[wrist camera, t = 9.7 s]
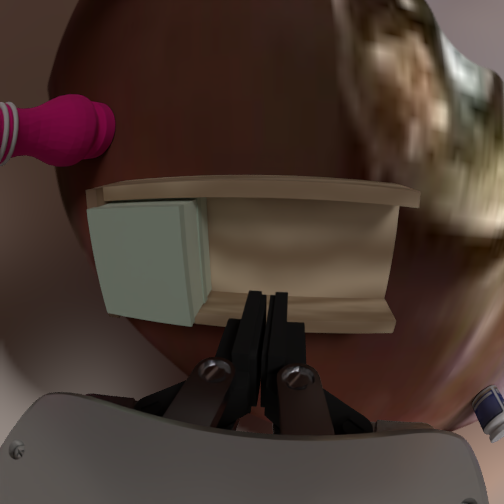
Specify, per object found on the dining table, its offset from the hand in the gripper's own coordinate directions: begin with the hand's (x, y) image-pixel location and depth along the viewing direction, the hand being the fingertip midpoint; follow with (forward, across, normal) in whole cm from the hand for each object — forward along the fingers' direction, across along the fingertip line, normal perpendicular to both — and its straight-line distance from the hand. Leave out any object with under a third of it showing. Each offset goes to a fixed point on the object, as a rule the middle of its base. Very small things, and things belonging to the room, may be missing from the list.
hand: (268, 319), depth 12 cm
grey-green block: (+12, +10, +1) cm, 16 cm away
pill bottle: (+12, -38, +27) cm, 49 cm away
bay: (+14, +2, +1) cm, 14 cm away
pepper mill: (+15, +20, -11) cm, 27 cm away
